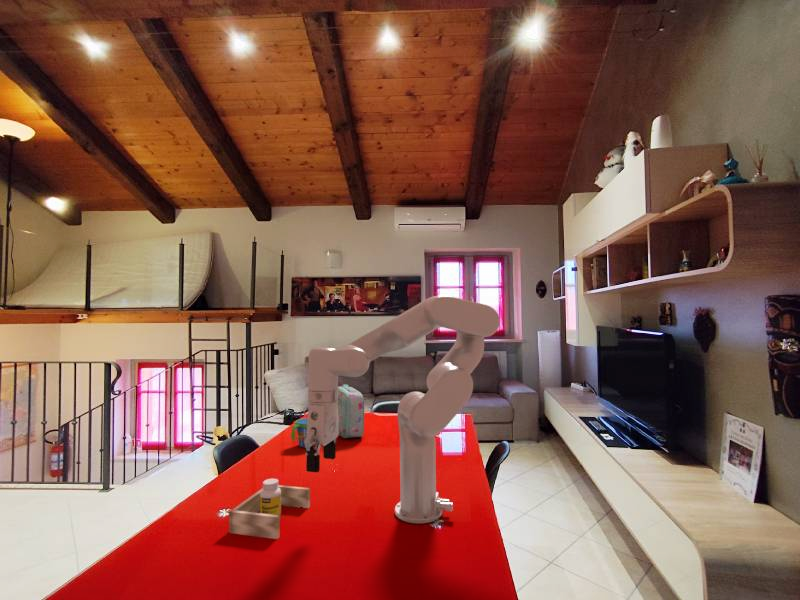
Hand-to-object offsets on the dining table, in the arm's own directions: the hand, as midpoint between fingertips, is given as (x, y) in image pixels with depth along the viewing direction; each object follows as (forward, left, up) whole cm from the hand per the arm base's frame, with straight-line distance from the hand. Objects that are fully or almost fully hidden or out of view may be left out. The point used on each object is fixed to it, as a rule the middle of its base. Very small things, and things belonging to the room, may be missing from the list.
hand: (321, 464), depth 102 cm
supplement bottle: (+15, 0, -15) cm, 21 cm away
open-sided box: (+14, 0, -15) cm, 20 cm away
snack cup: (+34, -60, -15) cm, 70 cm away
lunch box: (+25, -80, -15) cm, 85 cm away
